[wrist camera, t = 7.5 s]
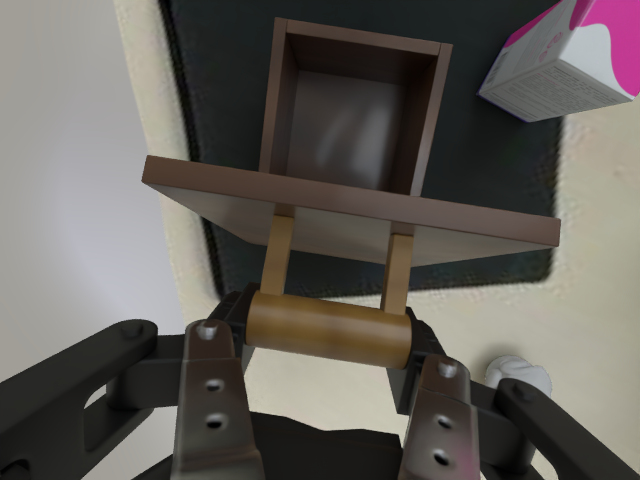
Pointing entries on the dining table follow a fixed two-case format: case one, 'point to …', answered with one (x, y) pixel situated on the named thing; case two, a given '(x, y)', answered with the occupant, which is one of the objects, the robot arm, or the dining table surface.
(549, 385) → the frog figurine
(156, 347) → the robot arm
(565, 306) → the dining table surface
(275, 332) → the lid
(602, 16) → the supplement box
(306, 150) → the chest
